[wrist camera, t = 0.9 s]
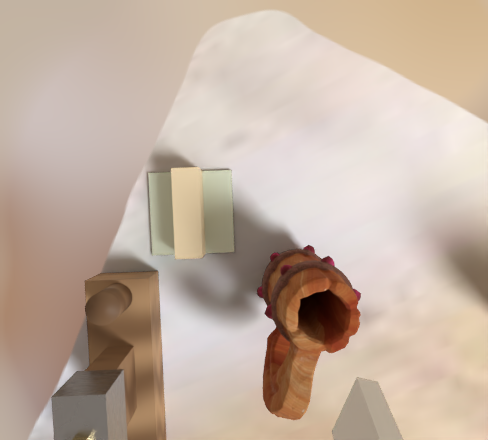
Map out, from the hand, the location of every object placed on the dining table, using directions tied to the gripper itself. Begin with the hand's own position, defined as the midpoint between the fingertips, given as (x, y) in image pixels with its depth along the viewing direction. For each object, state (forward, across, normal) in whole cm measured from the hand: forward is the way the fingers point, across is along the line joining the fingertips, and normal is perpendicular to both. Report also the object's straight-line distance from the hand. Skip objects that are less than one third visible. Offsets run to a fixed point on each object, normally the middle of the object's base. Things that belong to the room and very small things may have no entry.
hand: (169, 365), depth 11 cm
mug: (+25, -9, +12) cm, 29 cm away
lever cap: (+13, +7, +20) cm, 25 cm away
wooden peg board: (+21, +7, +24) cm, 33 cm away
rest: (+27, +4, +4) cm, 28 cm away
